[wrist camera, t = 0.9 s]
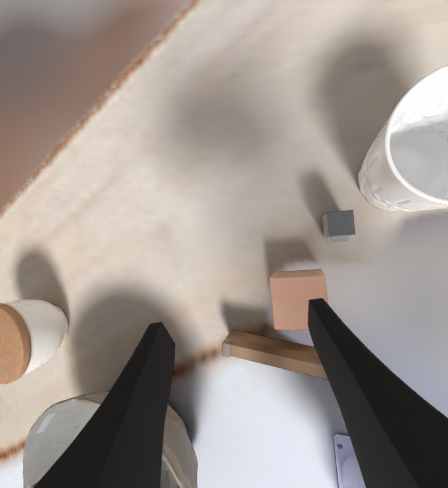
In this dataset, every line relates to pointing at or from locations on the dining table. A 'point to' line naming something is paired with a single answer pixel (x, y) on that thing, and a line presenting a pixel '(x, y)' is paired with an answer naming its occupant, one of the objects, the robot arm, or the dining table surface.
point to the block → (295, 297)
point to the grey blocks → (338, 225)
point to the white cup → (411, 151)
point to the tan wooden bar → (274, 353)
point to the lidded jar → (28, 336)
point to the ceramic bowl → (73, 421)
